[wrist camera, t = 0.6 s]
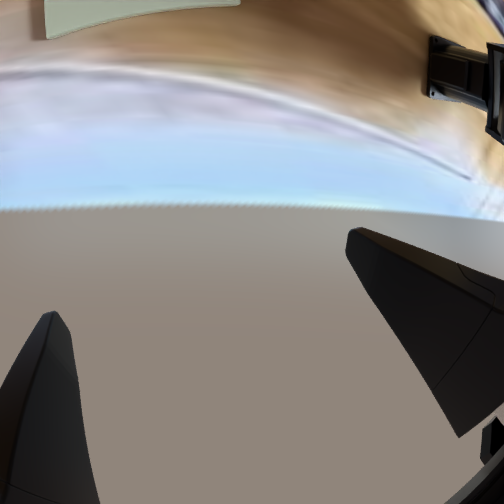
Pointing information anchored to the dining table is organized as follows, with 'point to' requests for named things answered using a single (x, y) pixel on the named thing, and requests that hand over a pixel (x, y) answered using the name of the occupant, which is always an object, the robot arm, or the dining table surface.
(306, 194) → the dining table surface
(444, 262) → the robot arm
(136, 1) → the mat
